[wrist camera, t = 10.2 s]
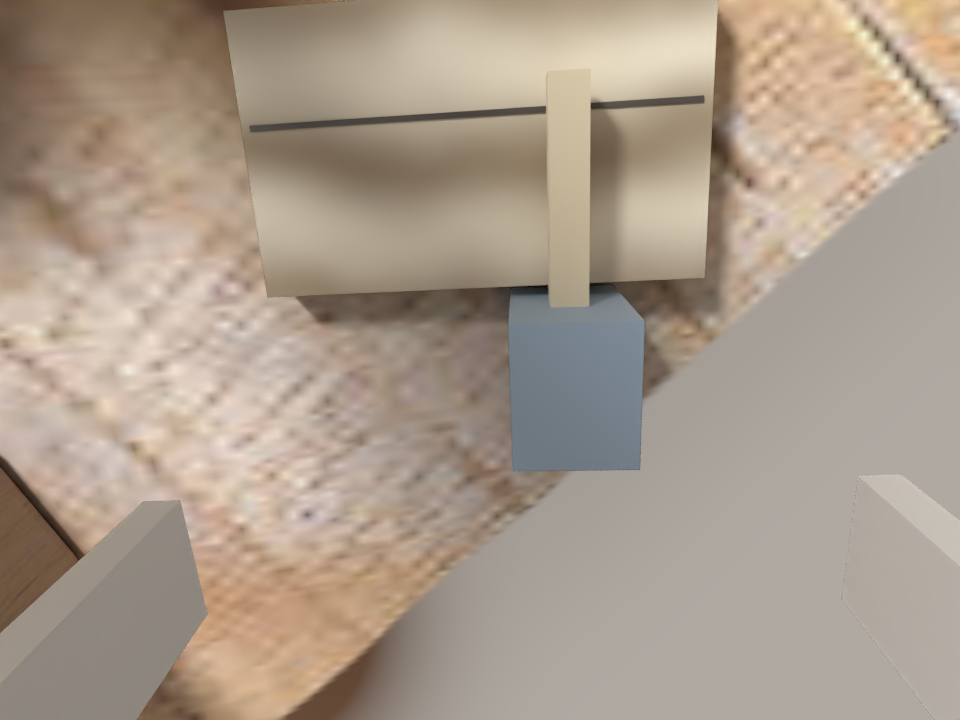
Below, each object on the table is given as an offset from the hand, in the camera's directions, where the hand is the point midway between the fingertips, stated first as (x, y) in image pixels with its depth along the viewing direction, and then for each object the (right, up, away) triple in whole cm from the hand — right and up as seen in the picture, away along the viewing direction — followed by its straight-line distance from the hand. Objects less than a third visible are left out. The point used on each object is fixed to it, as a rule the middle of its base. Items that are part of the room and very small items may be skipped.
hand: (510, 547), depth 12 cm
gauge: (+3, +9, +18) cm, 20 cm away
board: (-1, +13, +17) cm, 21 cm away
